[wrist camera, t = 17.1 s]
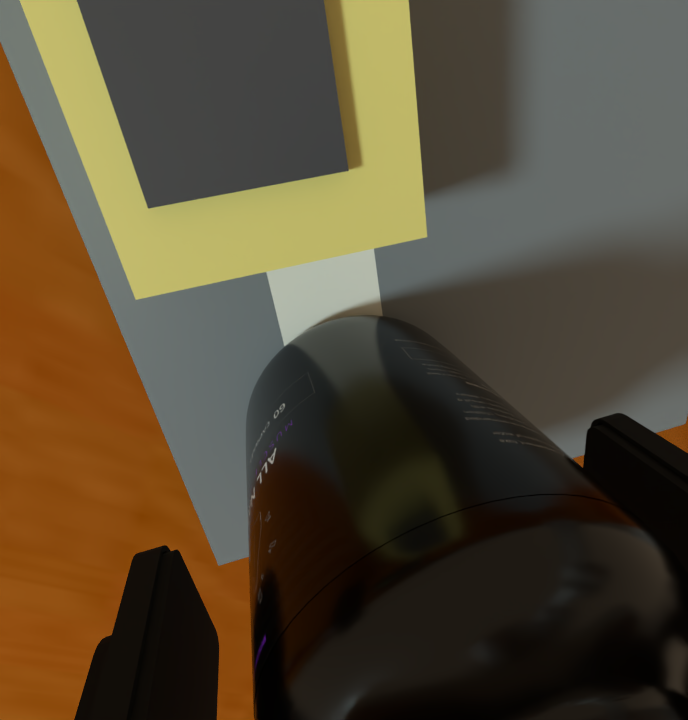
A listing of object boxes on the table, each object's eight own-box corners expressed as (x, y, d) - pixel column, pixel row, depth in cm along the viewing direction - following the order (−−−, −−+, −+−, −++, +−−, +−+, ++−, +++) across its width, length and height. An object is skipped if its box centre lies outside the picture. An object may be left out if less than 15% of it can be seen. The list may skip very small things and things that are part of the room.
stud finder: (314, -164, 8) (383, -465, 4) (366, 216, 11) (434, 239, 7) (35, -143, 8) (-176, -473, 4) (170, 256, 10) (132, 304, 7)
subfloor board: (753, -179, 11) (823, -226, 10) (653, 405, 19) (685, 423, 18) (-36, -111, 9) (-86, -163, 7) (220, 533, 16) (218, 565, 15)
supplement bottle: (198, 376, 12) (-91, 1914, 1) (413, 268, 12) (1604, 909, 2) (304, 529, 15) (466, 1383, 4) (475, 441, 15) (1024, 1058, 5)
